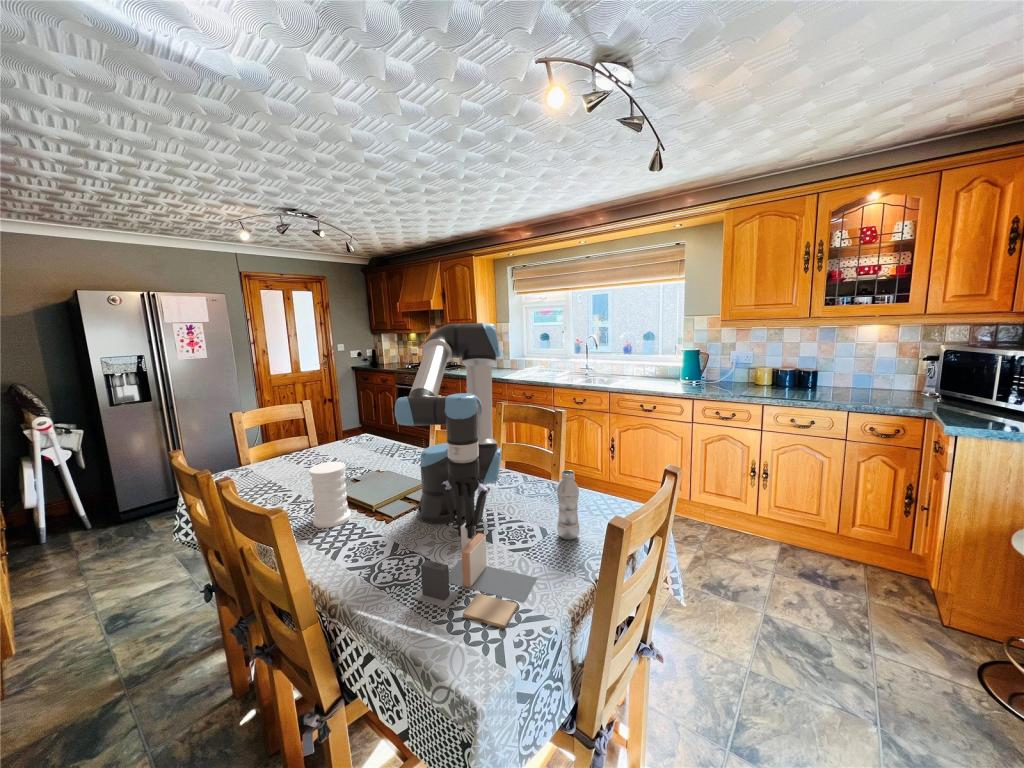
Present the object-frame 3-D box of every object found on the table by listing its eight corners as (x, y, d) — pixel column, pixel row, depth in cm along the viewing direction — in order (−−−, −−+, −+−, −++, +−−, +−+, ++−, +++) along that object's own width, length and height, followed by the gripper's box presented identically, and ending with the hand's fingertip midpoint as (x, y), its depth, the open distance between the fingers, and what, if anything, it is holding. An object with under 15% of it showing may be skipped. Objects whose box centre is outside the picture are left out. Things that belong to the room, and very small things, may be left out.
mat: (441, 582, 99) (440, 580, 99) (460, 561, 108) (460, 559, 108) (524, 604, 91) (524, 602, 91) (537, 579, 99) (537, 577, 99)
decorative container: (338, 508, 141) (334, 459, 138) (358, 516, 134) (353, 465, 132) (306, 521, 132) (300, 469, 129) (325, 531, 125) (319, 476, 122)
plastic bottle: (574, 544, 115) (574, 478, 112) (553, 538, 118) (552, 473, 115) (583, 534, 120) (583, 470, 117) (562, 529, 124) (562, 466, 120)
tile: (462, 585, 97) (461, 551, 96) (479, 564, 105) (478, 533, 104) (470, 587, 96) (469, 553, 95) (487, 566, 104) (486, 534, 103)
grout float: (413, 600, 93) (411, 567, 92) (426, 587, 98) (424, 555, 96) (447, 610, 90) (445, 575, 88) (458, 596, 94) (457, 563, 93)
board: (462, 618, 87) (462, 613, 87) (477, 597, 93) (477, 593, 93) (505, 630, 83) (505, 625, 83) (517, 608, 90) (517, 603, 89)
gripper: (431, 459, 96) (436, 551, 99) (480, 466, 91) (483, 562, 94) (448, 450, 103) (452, 536, 106) (494, 456, 98) (497, 546, 101)
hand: (467, 548), depth 100 cm, fingers closed
